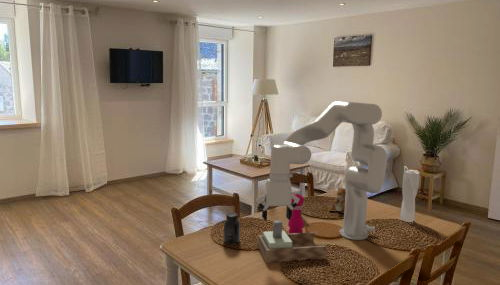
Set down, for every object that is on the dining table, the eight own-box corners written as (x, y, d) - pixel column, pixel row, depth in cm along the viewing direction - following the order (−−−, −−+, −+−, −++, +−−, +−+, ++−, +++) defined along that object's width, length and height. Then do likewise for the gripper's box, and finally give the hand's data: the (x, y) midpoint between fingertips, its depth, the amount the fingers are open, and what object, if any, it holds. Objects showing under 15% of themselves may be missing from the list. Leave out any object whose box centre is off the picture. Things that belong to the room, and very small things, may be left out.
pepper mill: (303, 237, 165) (305, 194, 162) (286, 235, 167) (288, 192, 164) (304, 231, 172) (306, 189, 169) (288, 229, 174) (290, 188, 170)
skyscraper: (395, 220, 189) (400, 166, 184) (402, 217, 194) (407, 164, 189) (410, 225, 183) (416, 169, 179) (417, 221, 188) (423, 167, 184)
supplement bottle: (242, 241, 160) (243, 214, 158) (231, 246, 155) (232, 218, 153) (231, 236, 164) (232, 210, 162) (220, 241, 160) (220, 214, 158)
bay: (312, 243, 160) (313, 232, 159) (325, 258, 146) (326, 246, 145) (258, 246, 155) (258, 235, 154) (266, 262, 141) (266, 250, 141)
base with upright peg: (283, 244, 155) (284, 216, 153) (291, 256, 145) (293, 227, 143) (262, 245, 154) (263, 217, 152) (269, 257, 143) (270, 228, 141)
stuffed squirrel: (327, 211, 200) (328, 187, 197) (339, 205, 210) (341, 182, 208) (344, 216, 193) (346, 191, 191) (356, 209, 204) (358, 186, 201)
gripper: (297, 174, 150) (294, 215, 152) (255, 174, 146) (253, 216, 149) (303, 179, 142) (300, 222, 145) (259, 179, 139) (257, 223, 141)
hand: (276, 219), depth 147 cm, fingers open, 9 cm apart
